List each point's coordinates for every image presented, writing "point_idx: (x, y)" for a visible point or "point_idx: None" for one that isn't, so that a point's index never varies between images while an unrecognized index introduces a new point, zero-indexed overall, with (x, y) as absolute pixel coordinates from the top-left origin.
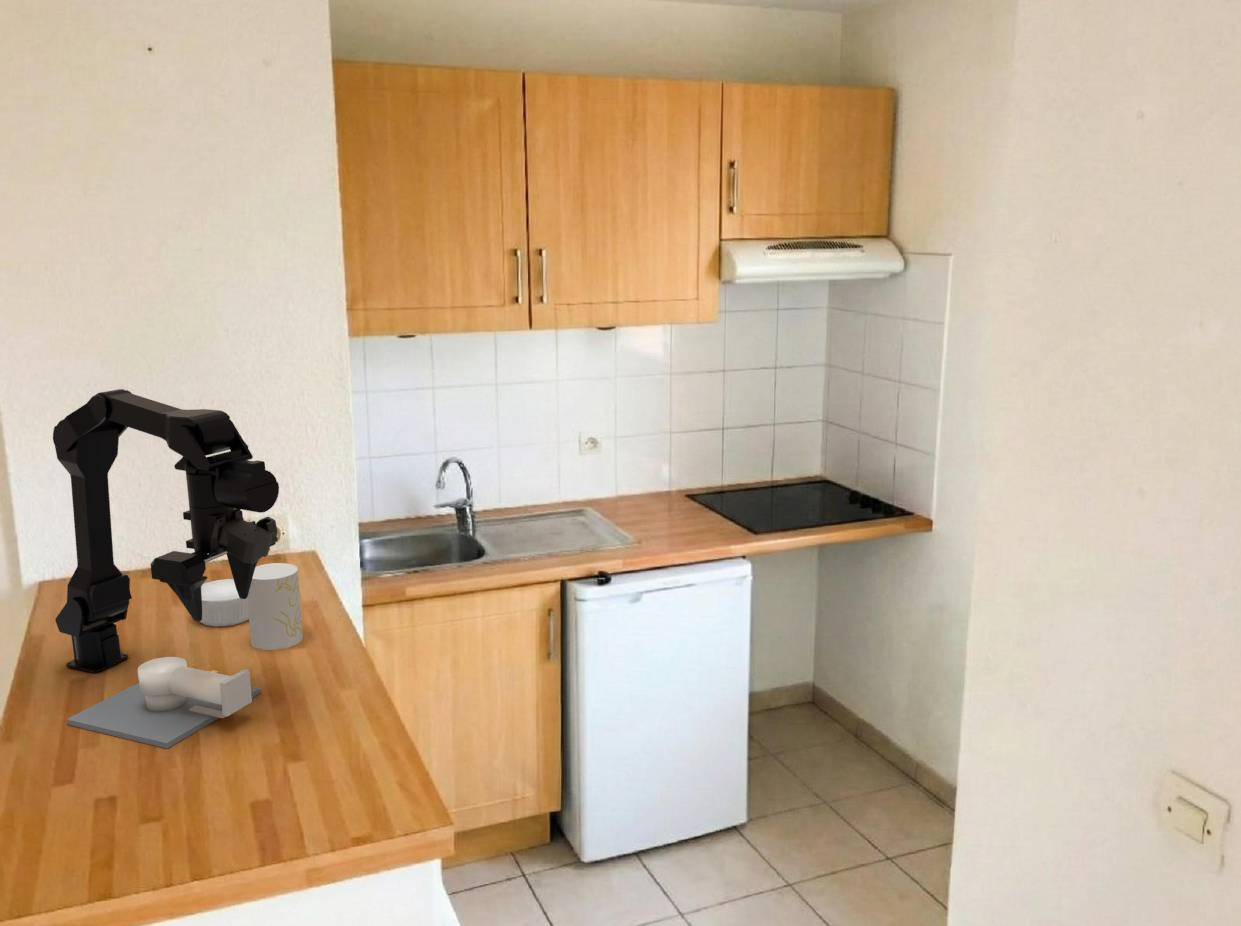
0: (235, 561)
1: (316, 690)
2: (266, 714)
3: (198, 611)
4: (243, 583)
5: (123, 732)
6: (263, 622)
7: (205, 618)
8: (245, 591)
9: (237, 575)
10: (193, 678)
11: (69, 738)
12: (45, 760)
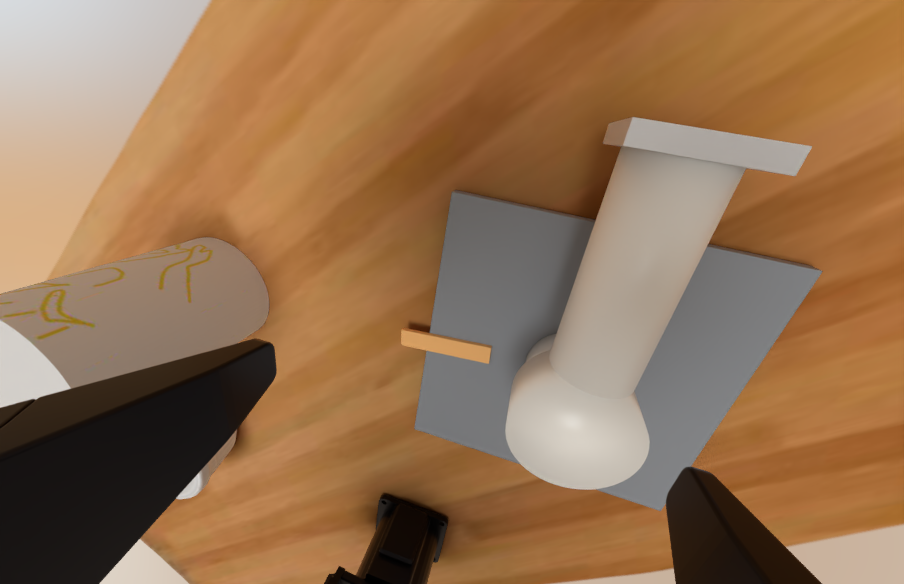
0: None
1: (403, 31)
2: (575, 97)
3: (799, 563)
4: (173, 418)
5: (736, 396)
6: (213, 318)
7: (229, 439)
8: (230, 367)
9: (118, 512)
10: (663, 321)
11: (724, 479)
12: (841, 487)
